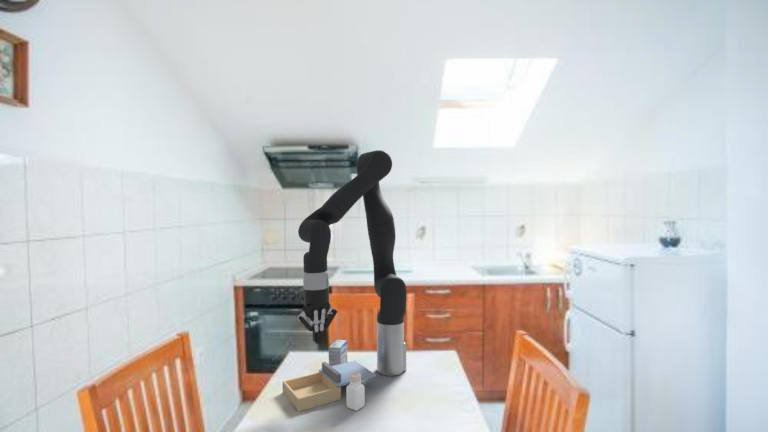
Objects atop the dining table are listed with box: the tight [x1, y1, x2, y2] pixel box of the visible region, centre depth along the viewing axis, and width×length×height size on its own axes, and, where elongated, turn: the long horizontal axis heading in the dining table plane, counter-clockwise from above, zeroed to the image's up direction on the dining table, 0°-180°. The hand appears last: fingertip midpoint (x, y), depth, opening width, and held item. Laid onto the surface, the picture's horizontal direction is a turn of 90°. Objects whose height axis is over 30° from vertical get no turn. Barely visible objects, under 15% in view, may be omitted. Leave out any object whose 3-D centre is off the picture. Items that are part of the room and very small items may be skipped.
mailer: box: [282, 371, 342, 412], centre depth 124 cm, size 13×13×4 cm
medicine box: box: [328, 339, 348, 366], centre depth 144 cm, size 8×4×9 cm, turn 168°
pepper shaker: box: [346, 372, 366, 411], centre depth 117 cm, size 4×4×10 cm
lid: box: [318, 360, 376, 387], centre depth 130 cm, size 13×13×3 cm
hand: (318, 342), depth 124 cm, fingers closed
